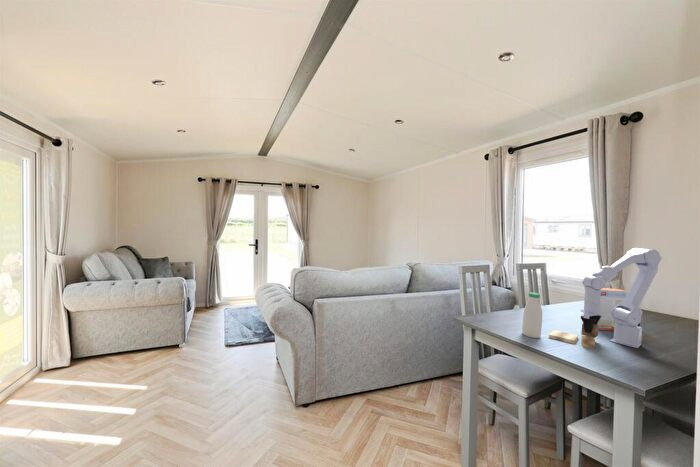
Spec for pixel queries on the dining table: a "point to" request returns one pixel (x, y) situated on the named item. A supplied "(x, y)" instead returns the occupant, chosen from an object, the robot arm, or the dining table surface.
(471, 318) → the dining table surface
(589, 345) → the oak cube
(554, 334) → the base board
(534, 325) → the milk bottle
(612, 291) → the cracker box
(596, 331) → the walnut cube
